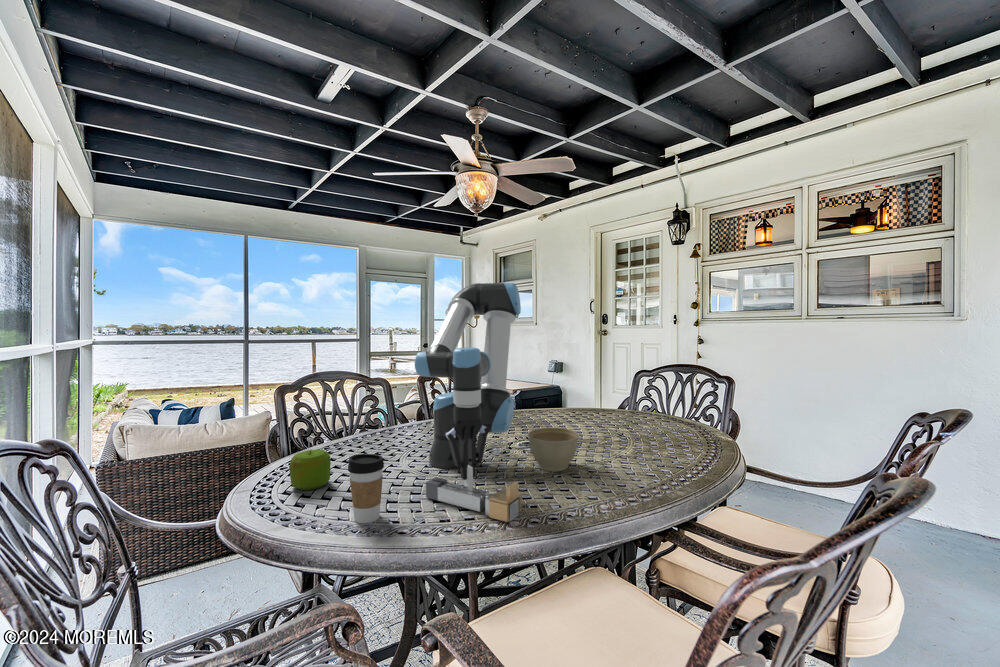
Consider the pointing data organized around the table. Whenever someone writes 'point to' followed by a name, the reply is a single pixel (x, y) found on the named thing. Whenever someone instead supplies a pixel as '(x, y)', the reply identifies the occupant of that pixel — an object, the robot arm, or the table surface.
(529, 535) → the table surface
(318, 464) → the apple
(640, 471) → the table surface
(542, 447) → the planter bowl
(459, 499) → the tongs fixed
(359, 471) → the coffee cup
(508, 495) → the collar
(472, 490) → the bar
